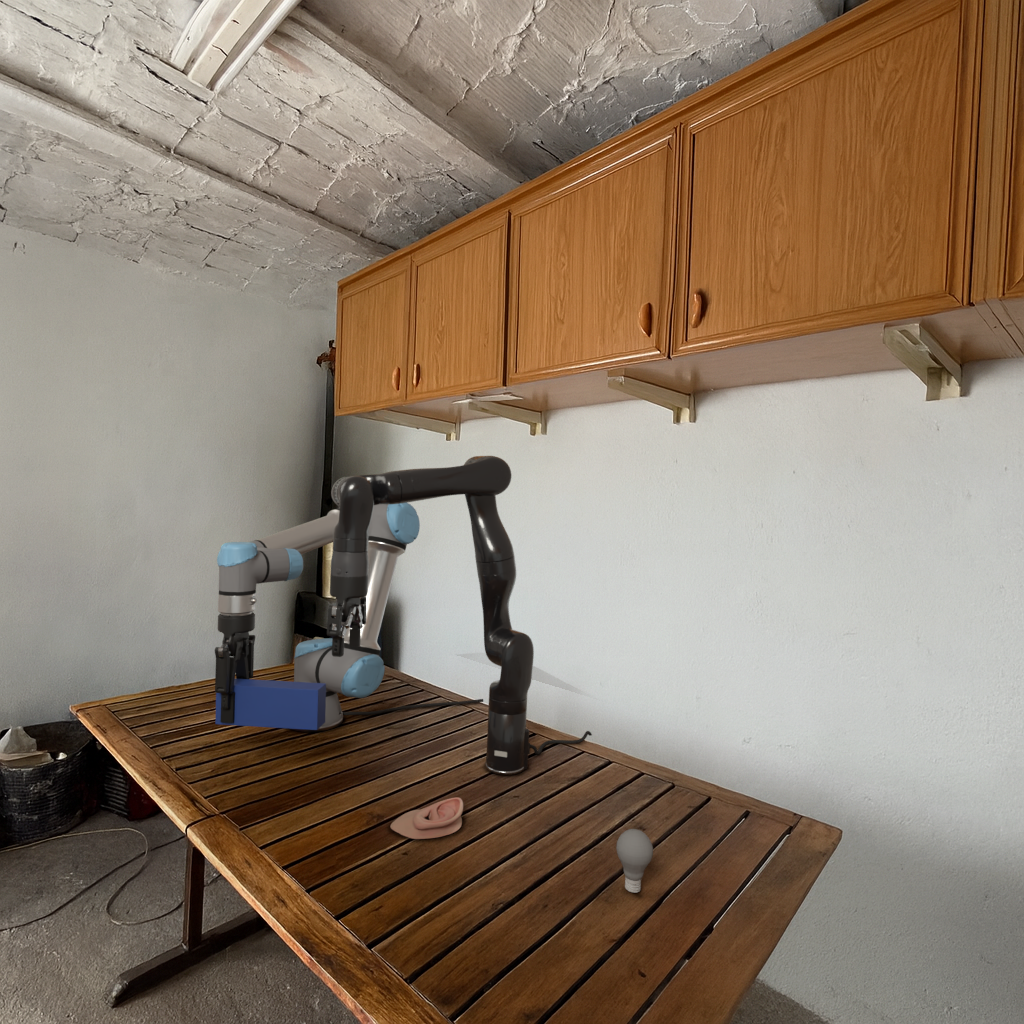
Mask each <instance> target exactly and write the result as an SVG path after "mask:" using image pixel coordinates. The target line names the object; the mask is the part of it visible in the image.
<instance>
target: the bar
mask: <svg viewBox="0 0 1024 1024" xmlns="http://www.w3.org/2000/svg"><path fill="white" fill-rule="evenodd" d="M233 692H235V717H234V723H223V722H221V693H216V692H215V725H221V726H240V727H256V728H257V727H258V728H274V729H289V730H292V729H306V730H318V729H319V728H320V727H321V726H322V725H323V724H324V723H325V707H326V683H309V682H294V681H288V680H270V679H253V678H250V679H236V678H235V680H234V687H233Z"/></svg>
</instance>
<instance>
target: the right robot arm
mask: <svg viewBox="0 0 1024 1024" xmlns="http://www.w3.org/2000/svg"><path fill="white" fill-rule="evenodd" d="M512 477H513V476H512V470H511V468H510V465H509V464H508V463H507V462H506V461H505V460H504V459H503V458H501V457H498V456H494V455H474V456H472V457H469V458H468V459H467V460H466V461H465V462H464V464H462V465H456V466H449V467H447V466H446V467H428V468H426V467H423V468H409V469H401V470H393V471H386V472H382V473H377V474H359V475H346V476H343V477H341V478H338V479H337V480H336V481H335V482H334V483H333V485H332V488H331V491H330V492H331V494H330V495H331V499H332V501H333V502H334V504H335V505H336V506H337V507H338V508H340V511H339V521H338V523H337V524H336V526H335V528H334V534H333V542H332V554H331V560H330V579H329V583H330V584H329V595H330V596H331V597H333V598H336V603H335V605H331V604H330V605H328V609H327V622H326V624H327V625H326V636H327V637H330V638H332V656H335V657H341V656H343V655H344V636H345V635H346V631H347V629H348V628H349V627H350V628H352V629H350V637H349V646H350V647H359V646H360V640H361V630H360V629H362V628H363V624H366V600H367V599H366V597H365V596H366V595H367V592H368V568H369V560H368V529H369V525H370V521H371V517H372V512H373V506H374V505H378V504H400V503H413V502H420V501H424V500H425V501H426V500H431V499H437V498H442V497H449V496H459V495H464V497H465V501H466V506H467V509H468V514H469V519H470V526H471V534H472V541H473V549H474V558H475V565H476V572H477V578H478V584H479V591H480V599H481V607H482V617H483V644H484V645H483V646H484V651H485V656H486V657H487V659H488V661H490V662H491V663H492V664H494V665H496V666H499V667H500V677H499V679H497V680H495V681H493V682H491V683H490V684H489V689H488V709H487V711H488V713H487V731H486V735H487V736H486V757H485V769H486V770H487V771H488V772H490V773H492V774H496V775H500V776H513V775H516V774H517V775H518V774H520V773H522V772H523V771H525V770H528V765H529V755H530V754H531V753H530V752H531V749H532V750H533V753H534V754H535V755H537V756H539V755H540V754H541V753H542V752H543V749H544V748H545V747H546V746H548V745H552V744H563V745H564V744H565V745H575V744H581V743H582V742H584V741H585V740H586V738H587V737H588V736H593V734H592V732H591V731H590V730H586V731H585V732H584V733H583V736H582V737H581V738H578V739H572V740H571V739H570V740H568V739H550V740H546V741H544V742H543V743H541V745H540V746H539V748H538V749H537V747H536V746H535V745H534V744H531V743H530V729H529V728H527V712H528V711H527V710H528V692H529V690H530V687H531V684H532V680H533V679H532V678H533V670H534V669H533V668H534V658H535V649H534V643H533V641H532V638H531V637H530V636H529V635H528V634H527V633H525V632H522V631H518V630H515V629H513V627H512V623H511V622H512V621H511V615H510V600H511V597H512V594H513V591H514V588H515V585H516V581H517V566H516V565H517V564H516V559H515V558H516V557H515V551H514V547H513V544H512V541H511V539H510V536H509V534H508V532H507V530H506V527H505V526H504V523H503V522H502V519H501V517H500V515H499V511H498V506H497V496H498V495H500V494H502V493H504V492H505V491H506V490H507V489H508V488H509V487H510V484H511V481H512Z"/></svg>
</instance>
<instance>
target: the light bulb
mask: <svg viewBox="0 0 1024 1024" xmlns="http://www.w3.org/2000/svg"><path fill="white" fill-rule="evenodd" d="M615 849H616V854H617V857H618V859H619V861H620V863H621V865H622V867H623V873H624V874H623V875H624V876H625V878H624V888H625V890H627V891H628V892H630V893H634V894H635V893H639V892H640V891H641V889H642V887H641V886H642V879H643V877H644V875H645V871H646V868H647V867H648V866H649V864H650V863H651V861H652V859H653V855H654V847H653V843H652V841H651V838H649V836H648V835H647V834H646V833H645V832H643V831H642V830H641V829H636V828H629V829H627V830H625V831H623V832H622V833H621V834H620V835H619V837H618V839H617V841H616V847H615Z"/></svg>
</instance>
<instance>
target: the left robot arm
mask: <svg viewBox="0 0 1024 1024" xmlns="http://www.w3.org/2000/svg"><path fill="white" fill-rule="evenodd" d="M339 511H340V507H337V508H334V509H331V510H329V511H328V512H327V514H326V515H325V516H322V517H319V518H316V519H312V520H310V521H307V522H304V523H301V524H298V525H295V526H292V527H290V528H287V529H283V530H280V531H278V532H275V533H272V534H268V535H266V536H264V537H261V538H257V539H254V540H251V541H231V542H230V541H229V542H224V543H223V544H222V545H221V546H220V550H219V552H218V554H217V556H216V557H217V558H216V561H217V566H218V598H217V599H218V601H217V612H218V613H219V614H218V615H217V631H218V632H219V633H222V634H223V638H222V645H221V646H216V647H215V648H214V656H215V673H214V674H215V677H214V680H215V681H214V692H215V694H216V693H221V722H223V723H234V717H235V692H233V687H234V680H235V679H253V678H254V663H255V662H254V660H255V659H254V657H255V642H256V635H255V634H250V632H252V631H254V630H255V628H256V614H255V613H254V611H256V603H257V602H258V598H256V593H257V585H259V584H265V583H275V582H288V581H291V580H295V579H298V578H299V577H300V576H301V574H302V573H303V570H304V558H303V556H302V555H303V554H305V553H308V552H311V551H313V550H316V549H319V548H321V547H325V546H327V545H329V544H331V543H332V544H333V534H334V528H335V526H336V524H337V523H338V521H339ZM420 524H421V523H420V517H419V515H418V512H417V510H416V508H415V507H414V506H413V505H411V504H410V502H407V503H400V504H378V505H374V506H373V512H372V517H371V521H370V525H369V529H368V560H369V568H368V592H367V595H366V596H365V597H366V599H367V600H366V624H363V628H362V629H360V630H361V640H360V646H359V647H350V646H349V637H350V629H352V628H350V627H349V628H348V629H346V632H345V636H344V655H343V656H341V657H335V656H332V637H329V638H325V639H315V640H313V639H308V640H304V641H302V642H299V643H298V644H297V645H296V646H295V652H294V653H295V654H294V656H293V659H294V661H293V662H294V663H293V664H294V668H293V682H309V683H326V707H325V723H324V724H323V725H322V726H321V727H320V728H319V729H318V730H306V729H291V731H294V732H295V731H296V732H301V733H316V732H325V731H329V730H332V729H335V728H337V727H339V726H340V725H342V723H343V722H344V716H373V715H380V714H384V713H389V712H394V711H401V710H409V709H419V708H429V707H444V706H457V705H458V706H459V705H468V704H469V705H470V704H477V703H483V702H484V699H483V698H478V699H471V700H460V701H448V702H447V701H446V702H433V703H421V704H420V703H419V704H411V705H402V706H397V707H391V708H386V709H381V710H380V709H379V710H373V711H343V709H342V706H341V702H340V699H339V695H338V694H340V695H344V696H345V697H347V698H355V699H365V698H367V697H370V696H371V695H372V694H373V693H374V692H375V691H377V690H378V688H379V686H380V685H381V683H382V681H383V679H384V675H385V671H386V669H385V667H386V666H385V665H384V660H383V658H382V657H381V656H380V654H381V647H380V645H379V643H378V639H379V638H378V637H379V635H380V631H381V628H382V623H383V620H384V619H383V618H384V615H385V610H386V606H387V602H388V599H389V595H390V591H391V588H392V587H391V586H392V582H393V579H394V574H395V571H396V567H397V563H398V559H399V557H400V556H401V555H403V554H405V553H406V549H407V546H408V545H410V544H412V543H413V542H414V541H415V540H416V539H417V538H418V536H419V533H420V527H421V525H420Z"/></svg>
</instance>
